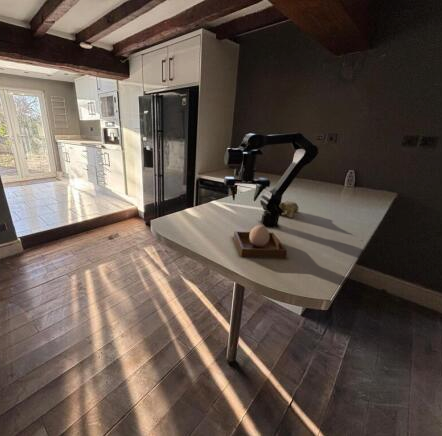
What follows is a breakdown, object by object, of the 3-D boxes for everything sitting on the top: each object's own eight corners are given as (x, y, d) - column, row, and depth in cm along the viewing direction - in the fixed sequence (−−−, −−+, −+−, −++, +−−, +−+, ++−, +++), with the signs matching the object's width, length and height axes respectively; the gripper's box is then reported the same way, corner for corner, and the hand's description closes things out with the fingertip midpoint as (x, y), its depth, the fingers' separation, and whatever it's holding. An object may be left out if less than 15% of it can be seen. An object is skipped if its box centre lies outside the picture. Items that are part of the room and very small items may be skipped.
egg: (271, 249, 86) (275, 228, 83) (254, 251, 84) (258, 230, 81) (260, 240, 93) (263, 221, 89) (244, 242, 91) (247, 223, 87)
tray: (271, 239, 95) (272, 232, 94) (285, 258, 82) (287, 250, 80) (233, 237, 95) (234, 231, 94) (241, 256, 82) (242, 248, 81)
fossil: (277, 206, 134) (293, 196, 128) (288, 220, 132) (304, 210, 126) (269, 209, 123) (286, 198, 117) (280, 224, 120) (298, 214, 115)
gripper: (265, 163, 105) (259, 196, 111) (223, 161, 105) (220, 194, 111) (273, 167, 95) (267, 203, 100) (227, 165, 95) (224, 202, 101)
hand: (244, 200), depth 103 cm, fingers open, 9 cm apart
